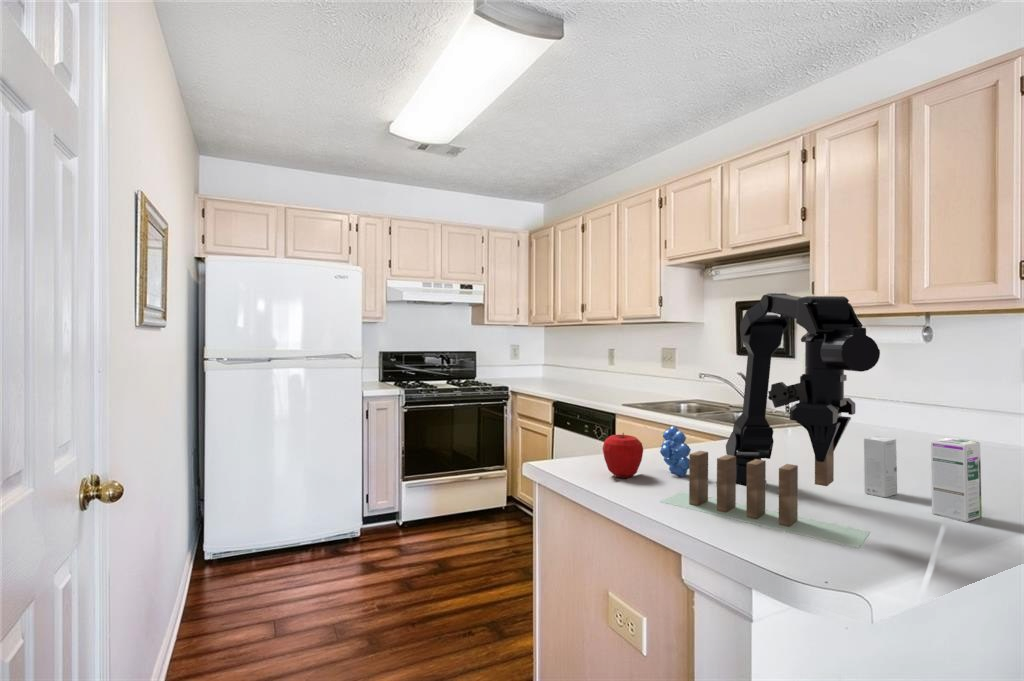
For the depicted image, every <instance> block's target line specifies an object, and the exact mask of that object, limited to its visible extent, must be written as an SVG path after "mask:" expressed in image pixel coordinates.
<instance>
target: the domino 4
mask: <svg viewBox="0 0 1024 681" xmlns="http://www.w3.org/2000/svg"><path fill="white" fill-rule="evenodd" d="M798 468H799V466H798V465H797V464H791V463H786V464H784V465H782V466H781V467H779V468H778V512H779V525H782V526H787V527H791V526H792V525H793V524H794V523H795V522H796V521H798V516H799V515H798V513H799V512H798V509H799V508H798V507H799V506H798V505H799V504H798V501H799V500H798V499H799V498H798V497H799V496H798V495H799V494H798V488H799V487H798V485H799V484H798V483H799V482H798V481H799V480H798V479H799V476H798V475H799V474H798V473H799V469H798Z"/></svg>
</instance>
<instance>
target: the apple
mask: <svg viewBox="0 0 1024 681" xmlns="http://www.w3.org/2000/svg"><path fill="white" fill-rule="evenodd" d="M602 452H603V458H604V462H605V463H606V467H607V469H608V471H609V472H610V473H611V474H612V475H613V476H614V477H616V478H623V479H624V478H625V479H630V478H633V476H634V475H636V474H637V472H638V471H639V468H640V465H641V464H642V460H643V456H644V447H643V443H642V442H641V441H640V440H639V439H638V438H637V437H636V436H633V435H629V434H625V433H624V432H622V434H612V435H610V436H608V437H607V438H605V440H604V442H603V446H602Z"/></svg>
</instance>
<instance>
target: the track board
mask: <svg viewBox="0 0 1024 681" xmlns="http://www.w3.org/2000/svg"><path fill="white" fill-rule="evenodd" d="M659 503H663V504H665V505H671V506H675V507H679V508H684V509H687V510H688V509H689V510H692V511H696V512H700V513H705V514H710V515H714V516H718V517H723V518H727V519H732V520H735V521H740V522H745V523H747V524H752V525H755V526H756V525H757V526H761V527H765V528H769V529H774V530H778V531H783V532H785V533H790V534H795V535H800V536H804V537H808V538H813V539H817V540H820V541H821V540H822V541H825V542H830V543H834V544H839V545H842V546H846V547H851V548H855V549H860V547H861V546H862V545H863V543H864V542H865V540H866V539H867V537H868V536H870V535H869V534H870V533H871V531H869V530H863V529H860V528H856V527H855V528H854V527H850V526H844V525H840V524H835V523H831V522H827V521H823V520H822V521H820V520H816V519H812V518H807V517H803V516H799V515H798V521H796V522H795V523H794V524H793V525H792V526H791V527H787V526H782V525H779V511H775V510H769V509H766V508H765V514H764V515H763V516H761V517H760V518H758V519H757V520H756V519H752V518H747V517H746V511H747V504H741V503H737V502H736V507H735V508H733V509H732V510H730V511H728V512H727V513H725V512H721V511H717V498H714V497H713V498H712V497H709V496H708V501H707V502H705V503H703V504H701V505H700V506H694V505H690V504H689V492H684V491H680V492H678V493H675V494H674V495H671V496H669V497H666V498H665V499H662V500H660V501H659Z"/></svg>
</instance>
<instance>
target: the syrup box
mask: <svg viewBox="0 0 1024 681" xmlns="http://www.w3.org/2000/svg"><path fill="white" fill-rule="evenodd" d="M981 463H982V462H981V443H980V442H979V441H975V440H968V439H963V438H955V437H954V438H950V437H944V438H941V439H940V438H939V439H931V440H930V476H931V477H930V480H931V482H930V483H931V487H930V488H931V513H932V515H933V514H934V515H937V516H940V517H943V518H948V519H952V520H955V521H958V522H960V521H961V522H965V523H969V522H970V521H973V520H977V519H981V518H982V517H983V516H982V515H983V514H982V513H983V511H982V469H981V468H982V467H981V466H982V464H981Z"/></svg>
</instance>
